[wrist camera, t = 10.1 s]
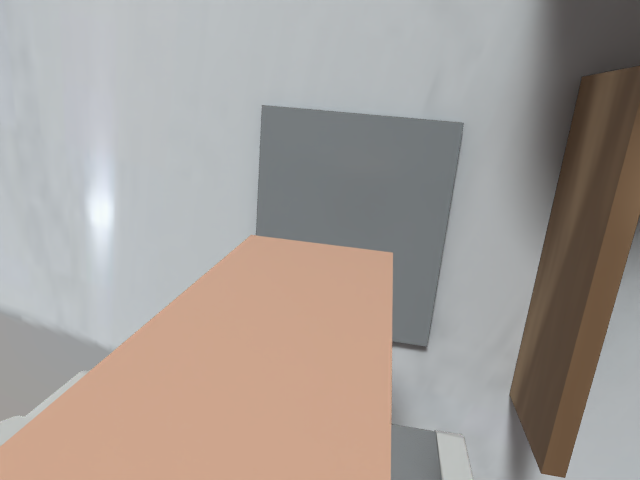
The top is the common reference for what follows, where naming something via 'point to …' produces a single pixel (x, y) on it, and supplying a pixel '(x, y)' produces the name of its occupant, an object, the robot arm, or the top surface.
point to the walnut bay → (580, 265)
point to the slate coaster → (363, 194)
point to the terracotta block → (237, 379)
